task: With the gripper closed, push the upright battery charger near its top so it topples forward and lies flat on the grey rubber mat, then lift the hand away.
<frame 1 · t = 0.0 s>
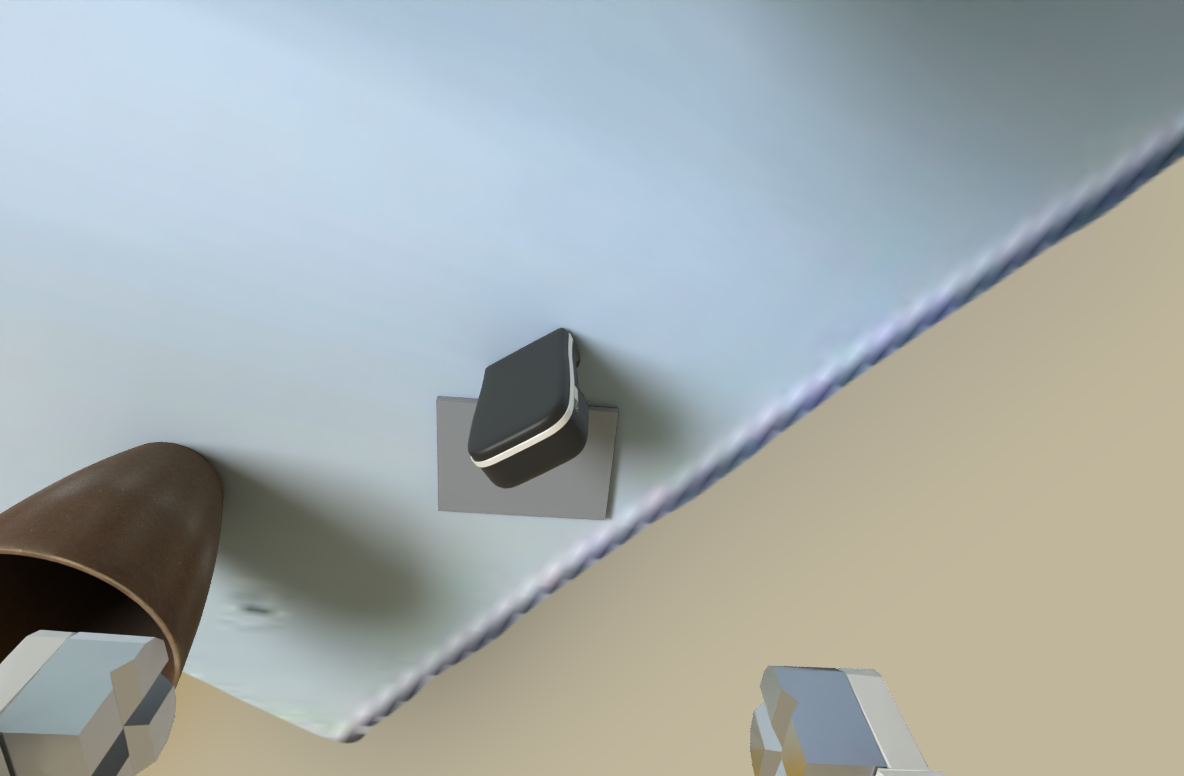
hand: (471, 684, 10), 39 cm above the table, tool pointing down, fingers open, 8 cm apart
plant pot: (175, 478, 56), on the table
battery charger: (537, 364, 52), on the table
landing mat: (525, 458, 56), on the table
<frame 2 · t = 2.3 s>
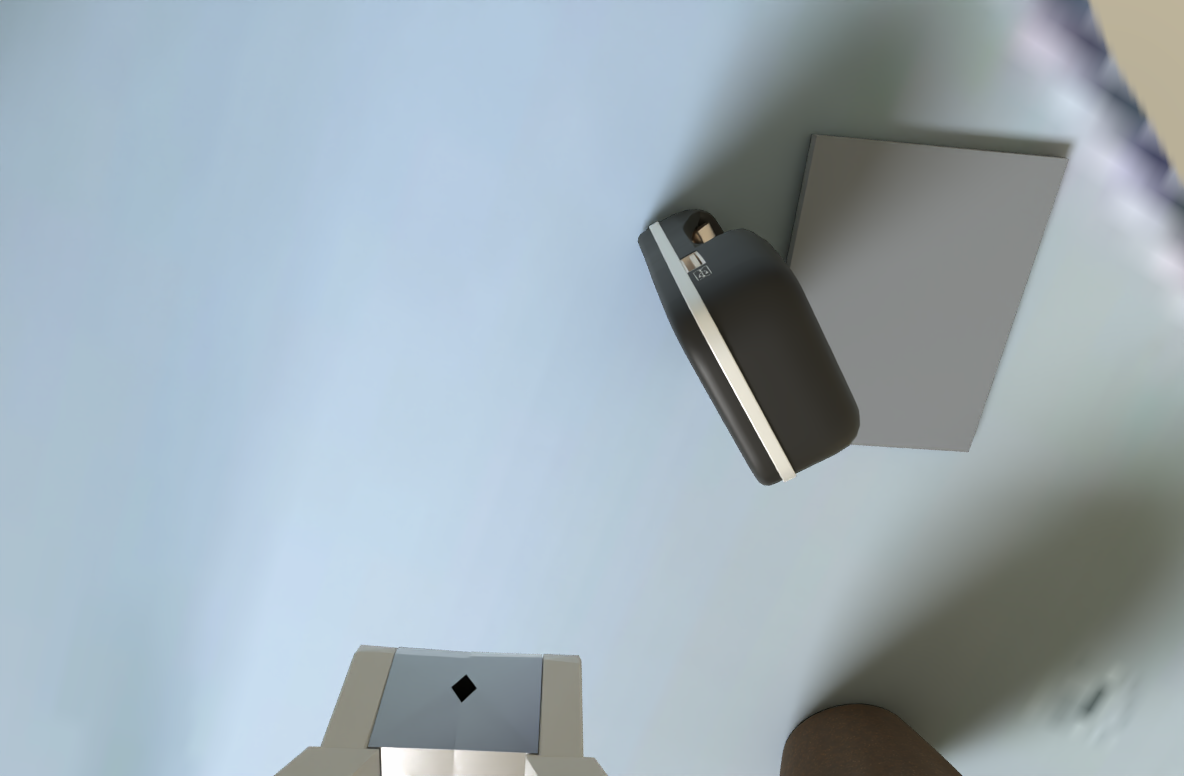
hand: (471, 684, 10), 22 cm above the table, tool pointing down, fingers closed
plant pot: (841, 745, 43), on the table
battery charger: (710, 277, 31), on the table
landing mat: (894, 304, 31), on the table
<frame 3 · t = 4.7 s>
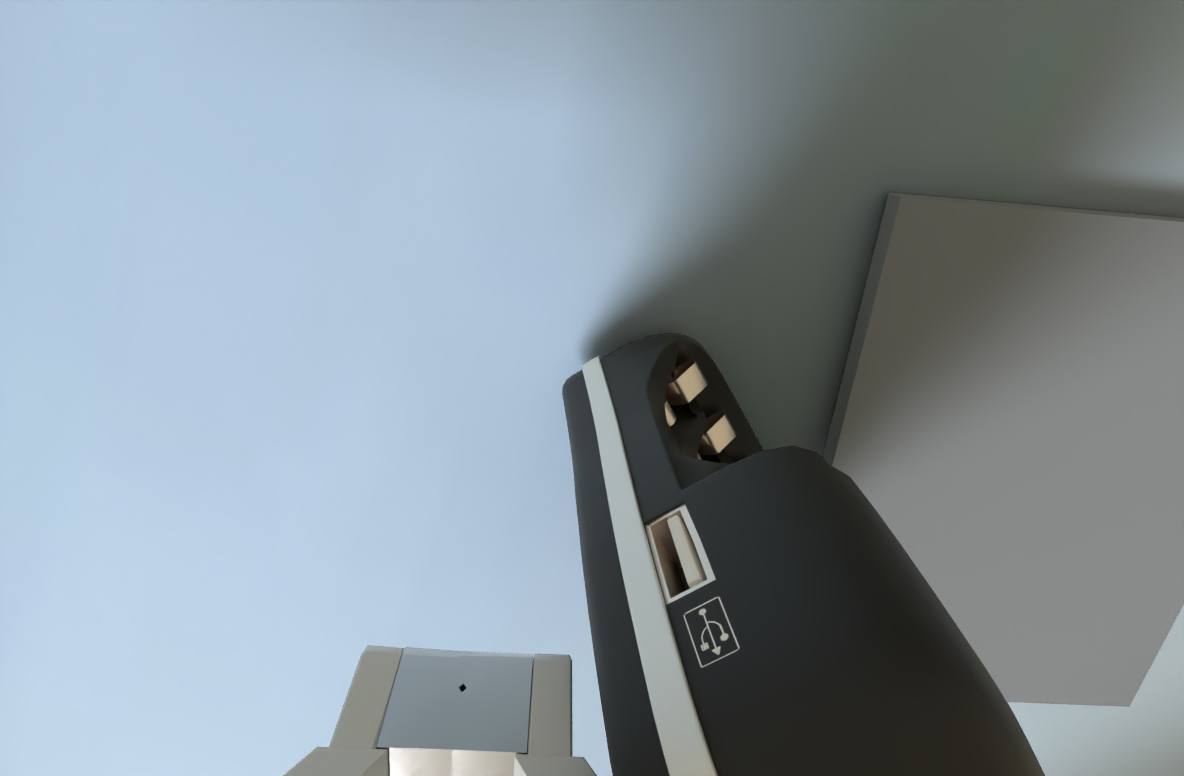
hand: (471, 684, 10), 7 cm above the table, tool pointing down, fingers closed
battery charger: (696, 442, 17), on the table, touching gripper
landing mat: (1020, 482, 18), on the table
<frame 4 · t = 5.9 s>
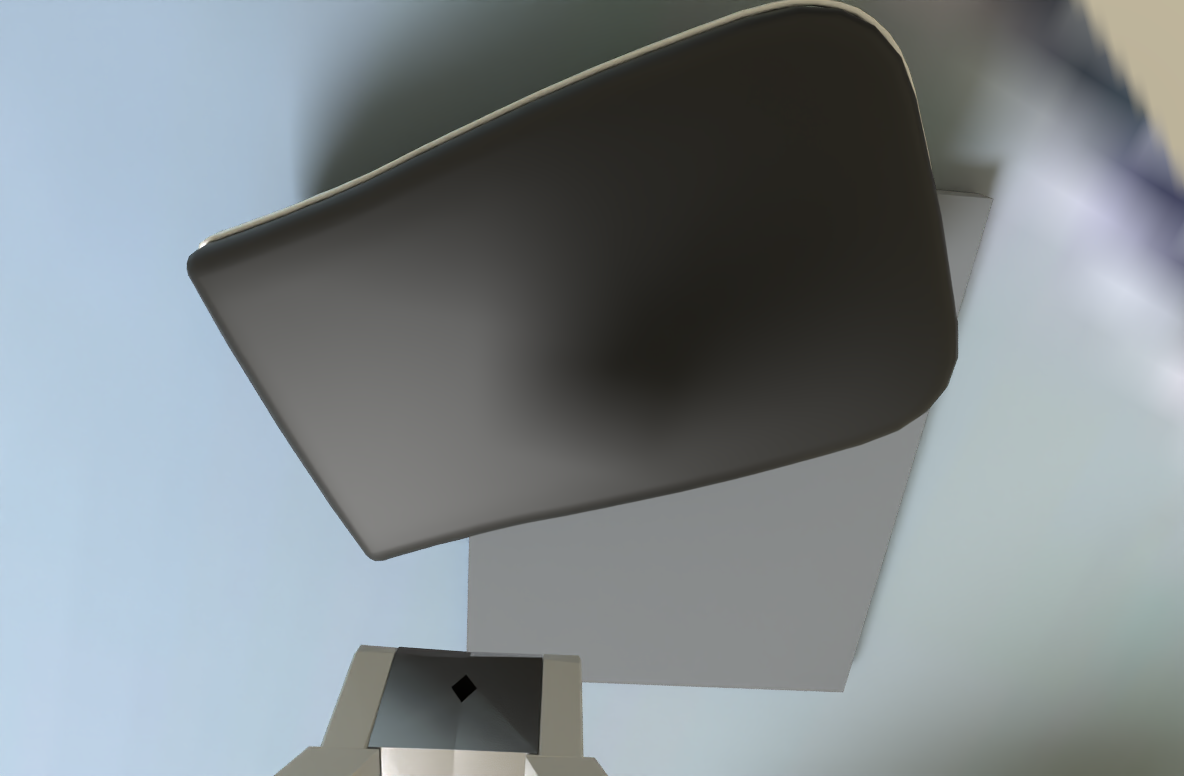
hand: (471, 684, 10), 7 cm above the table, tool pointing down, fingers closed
battery charger: (308, 388, 15), point 1 cm above the table, touching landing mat
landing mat: (688, 458, 17), on the table
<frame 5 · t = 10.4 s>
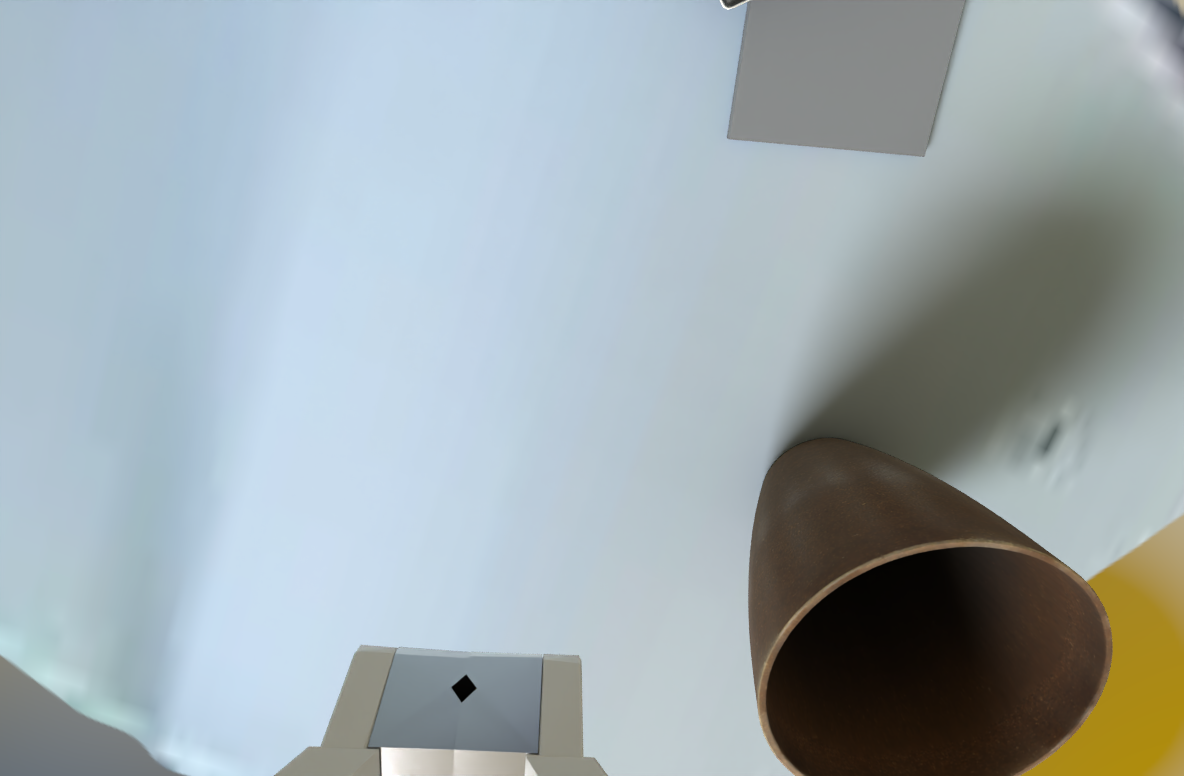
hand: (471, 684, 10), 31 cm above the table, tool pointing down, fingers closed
plant pot: (816, 486, 46), on the table
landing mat: (853, 3, 35), on the table
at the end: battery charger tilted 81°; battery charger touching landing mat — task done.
